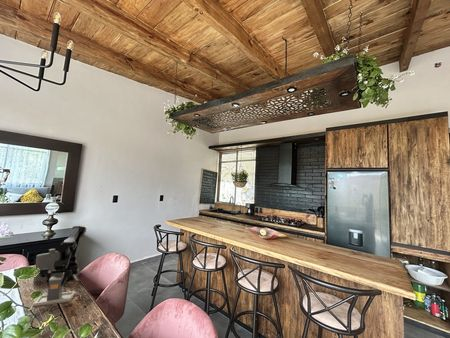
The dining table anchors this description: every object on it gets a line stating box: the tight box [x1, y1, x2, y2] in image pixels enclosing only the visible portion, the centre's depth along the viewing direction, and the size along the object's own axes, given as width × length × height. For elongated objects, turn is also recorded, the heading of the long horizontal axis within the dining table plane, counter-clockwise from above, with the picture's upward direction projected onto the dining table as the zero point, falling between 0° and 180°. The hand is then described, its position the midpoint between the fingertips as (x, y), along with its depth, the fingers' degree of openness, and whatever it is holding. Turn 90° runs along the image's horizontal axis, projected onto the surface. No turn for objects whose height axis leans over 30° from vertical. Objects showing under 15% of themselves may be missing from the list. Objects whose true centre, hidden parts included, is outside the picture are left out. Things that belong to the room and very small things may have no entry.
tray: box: [33, 290, 76, 307], centre depth 118 cm, size 9×17×2 cm, turn 113°
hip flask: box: [32, 248, 64, 284], centre depth 142 cm, size 16×4×20 cm, turn 137°
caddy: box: [46, 273, 64, 301], centre depth 118 cm, size 5×6×12 cm
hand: (55, 286), depth 117 cm, fingers open, 6 cm apart
